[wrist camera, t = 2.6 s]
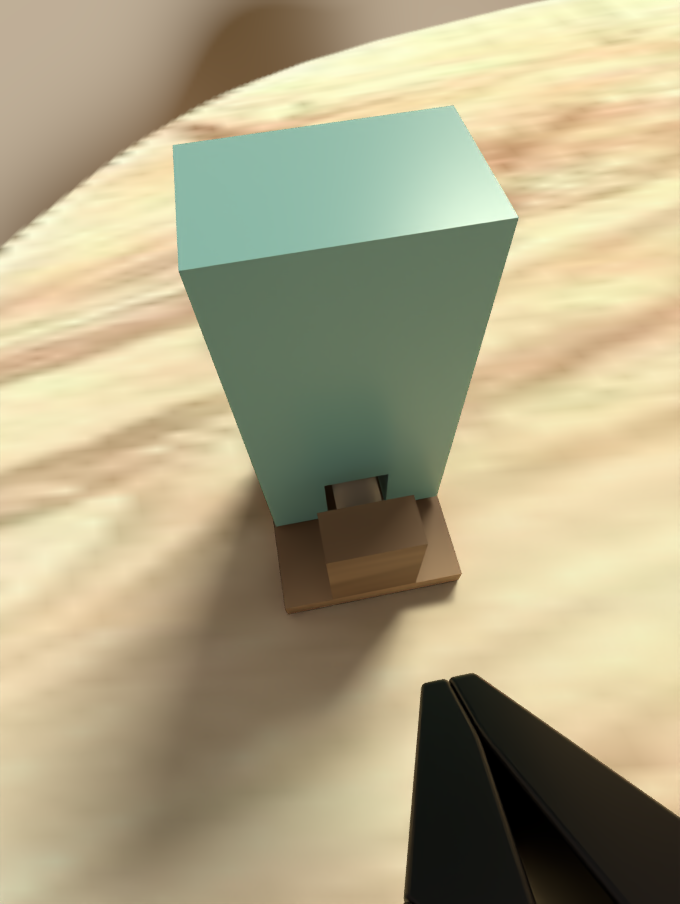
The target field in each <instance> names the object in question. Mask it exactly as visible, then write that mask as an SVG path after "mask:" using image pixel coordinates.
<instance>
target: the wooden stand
mask: <svg viewBox="0 0 680 904" xmlns="http://www.w3.org/2000/svg"><path fill="white" fill-rule="evenodd" d="M324 488H325V495H326V502H327V509H328V511H325V512H320V513H317V516H318V519H314V520H308V521H303V522H298V523H293V524H287V525H282V526H277V527H276V525H275V523H274V529H275V537H276V544H277V552H278V559H279V567H280V574H281V582H282V589H283V596H284V604H285V610H286V611H287V613H288V614H292V613H297V612H302V611H307V610H312V609H317V608H322V607H327V606H332V605H337V604H341V603H346V602H351V601H356V600H361V599H366V598H371V597H376V596H381V595H386V594H391V593H396V592H401V591H406V590H411V589H416V588H421V587H426V586H431V585H435V584H440V583H445V582H450V581H455V580H458V579H459V578H460V576H461V574H462V573H461V570H460V566H459V563H458V560H457V557H456V554H455V551H454V547H453V544H452V541H451V538H450V535H449V532H448V528H447V525H446V522H445V519H444V516H443V513H442V509H441V506H440V503H439V500H438V497H437V496H434V497H429V498H424V499H418V500H415V497H414V495H409V496H404V497H399V498H394V499H388V500H384V498H383V494H382V490H381V486H380V482H379V478H378V476H375V477H370V478H364V479H359V480H354V481H348V482H343V483H338V484H332V485H327V486H324ZM273 522H274V520H273Z"/></svg>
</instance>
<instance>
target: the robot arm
mask: <svg viewBox="0 0 680 904" xmlns="http://www.w3.org/2000/svg"><path fill="white" fill-rule="evenodd" d="M404 902H405V903H404V904H680V817H679V816H677V815H676V814H674V813H673V812H671V811H670V810H669V809H667V808H666V807H664V806H663V805H662V804H660V803H659V802H657V801H656V800H654V799H653V798H652V797H650V796H649V795H647V794H646V793H644V792H643V791H642V790H640V789H639V788H637V787H636V786H635V785H633V784H632V783H630V782H629V781H627V780H626V779H625V778H623V777H622V776H620V775H619V774H617V773H616V772H615V771H613V770H612V769H610V768H609V767H608V766H606V765H605V764H603V763H602V762H600V761H599V760H598V759H596V758H595V757H593V756H592V755H590V754H589V753H588V752H586V751H585V750H583V749H582V748H581V747H579V746H578V745H576V744H575V743H573V742H572V741H571V740H569V739H568V738H566V737H565V736H563V735H562V734H561V733H559V732H558V731H556V730H555V729H554V728H552V727H551V726H549V725H548V724H546V723H545V722H544V721H542V720H541V719H539V718H538V717H536V716H535V715H534V714H532V713H531V712H529V711H528V710H527V709H525V708H524V707H522V706H521V705H519V704H518V703H517V702H515V701H514V700H512V699H511V698H509V697H508V696H507V695H505V694H504V693H502V692H501V691H500V690H498V689H497V688H495V687H494V686H492V685H491V684H490V683H488V682H487V681H485V680H484V679H482V678H481V677H480V676H478V675H477V674H474V673H469V674H465V675H460V676H455V677H452V678H451V679H450V680H449V682H448V681H447V680H445V679H442V680H437V681H432V682H428V683H424V684H423V685H422V687H421V697H420V709H419V721H418V733H417V745H416V757H415V769H414V781H413V793H412V805H411V817H410V829H409V841H408V853H407V865H406V877H405V889H404Z"/></svg>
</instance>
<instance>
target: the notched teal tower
mask: <svg viewBox="0 0 680 904" xmlns="http://www.w3.org/2000/svg"><path fill="white" fill-rule="evenodd" d="M173 160H174V182H175V203H176V225H177V246H178V268H179V273H180V276H181V278H182V281H183V284H184V286H185V289H186V292H187V294H188V297H189V299H190V302H191V305H192V307H193V310H194V313H195V315H196V318H197V320H198V323H199V326H200V328H201V331H202V334H203V336H204V339H205V341H206V344H207V347H208V349H209V352H210V355H211V357H212V360H213V362H214V365H215V368H216V370H217V373H218V376H219V378H220V381H221V383H222V386H223V389H224V391H225V394H226V397H227V399H228V402H229V404H230V407H231V410H232V412H233V415H234V418H235V420H236V423H237V425H238V428H239V431H240V433H241V436H242V439H243V441H244V444H245V446H246V449H247V452H248V454H249V457H250V460H251V462H252V465H253V467H254V470H255V473H256V475H257V478H258V481H259V483H260V486H261V488H262V491H263V494H264V496H265V499H266V502H267V504H268V507H269V509H270V512H271V515H272V517H273V520H274V523H275V525H276V527H277V526H282V525H287V524H293V523H298V522H303V521H308V520H314V519H318V516H317V513H320V512H325V511H328V509H327V502H326V495H325V488H324V486H327V485H332V484H338V483H343V482H348V481H354V480H359V479H364V478H370V477H375V476H378V478H379V482H380V486H381V490H382V494H383V498H384V500H388V499H394V498H399V497H404V496H409V495H414V497H415V500H418V499H424V498H429V497H434V496H437V493H438V490H439V486H440V483H441V479H442V476H443V473H444V469H445V466H446V462H447V459H448V456H449V452H450V449H451V445H452V442H453V439H454V435H455V432H456V428H457V425H458V422H459V418H460V415H461V411H462V408H463V405H464V401H465V398H466V395H467V391H468V388H469V384H470V381H471V378H472V374H473V371H474V367H475V364H476V361H477V357H478V354H479V350H480V347H481V344H482V340H483V337H484V333H485V330H486V327H487V323H488V320H489V316H490V313H491V310H492V306H493V303H494V299H495V296H496V293H497V289H498V286H499V282H500V279H501V276H502V272H503V269H504V265H505V262H506V259H507V255H508V252H509V249H510V245H511V242H512V238H513V235H514V232H515V228H516V225H517V221H518V218H519V217H518V215H517V214H516V212H515V210H514V209H513V207H512V205H511V203H510V202H509V200H508V198H507V196H506V195H505V193H504V191H503V190H502V188H501V186H500V184H499V183H498V181H497V179H496V178H495V176H494V174H493V172H492V171H491V169H490V167H489V166H488V164H487V162H486V160H485V159H484V157H483V155H482V153H481V152H480V150H479V148H478V147H477V145H476V143H475V141H474V140H473V138H472V136H471V135H470V133H469V131H468V129H467V128H466V126H465V124H464V122H463V121H462V119H461V117H460V116H459V114H458V112H457V110H456V109H455V107H454V105H453V106H446V107H439V108H432V109H425V110H418V111H411V112H404V113H397V114H390V115H383V116H376V117H369V118H362V119H354V120H347V121H340V122H333V123H326V124H319V125H312V126H305V127H298V128H291V129H284V130H277V131H270V132H263V133H256V134H249V135H242V136H235V137H228V138H221V139H213V140H206V141H199V142H192V143H185V144H178V145H173Z"/></svg>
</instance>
